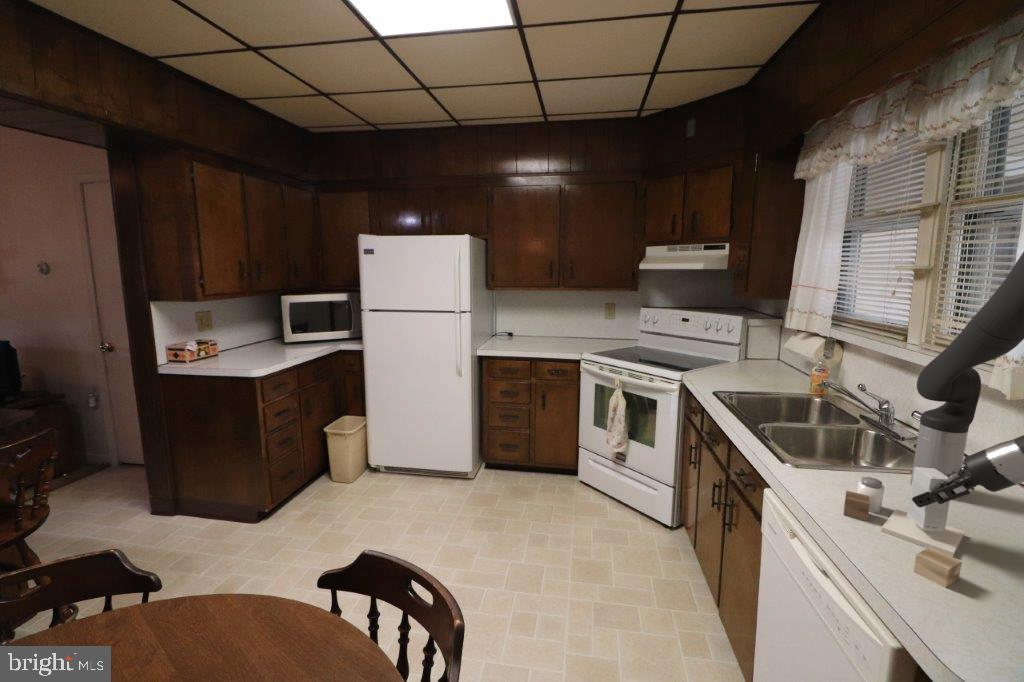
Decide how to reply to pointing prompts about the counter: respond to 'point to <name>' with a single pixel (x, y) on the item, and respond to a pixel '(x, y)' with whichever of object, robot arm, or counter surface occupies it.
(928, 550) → the oak block
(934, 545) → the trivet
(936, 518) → the skincare box
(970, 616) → the counter surface
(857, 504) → the walnut block
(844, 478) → the counter surface
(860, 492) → the white jar
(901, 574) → the counter surface
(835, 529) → the counter surface
